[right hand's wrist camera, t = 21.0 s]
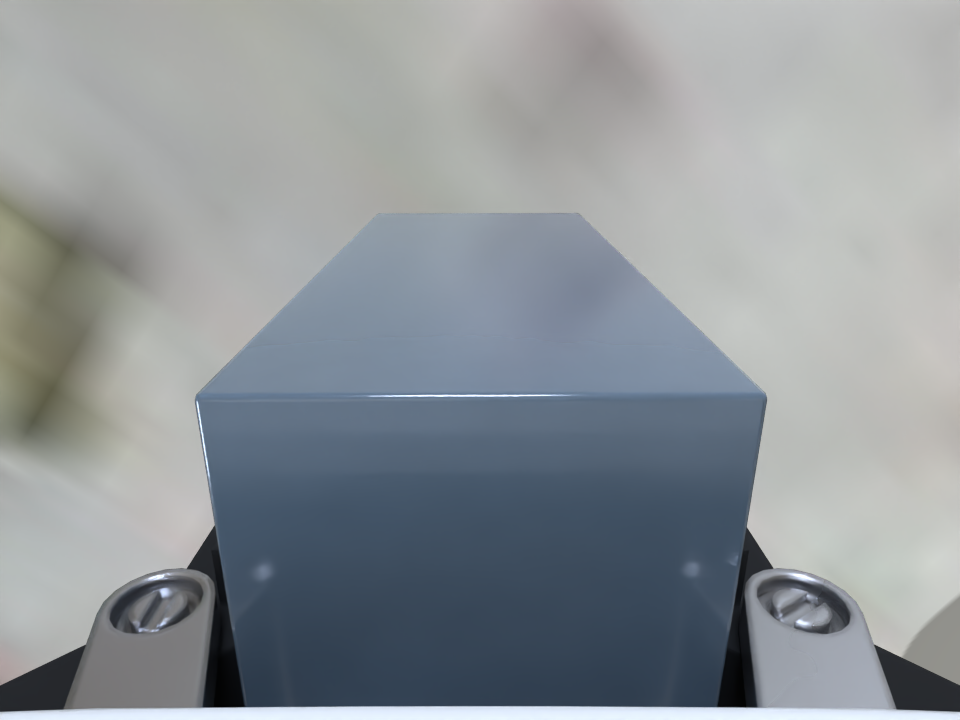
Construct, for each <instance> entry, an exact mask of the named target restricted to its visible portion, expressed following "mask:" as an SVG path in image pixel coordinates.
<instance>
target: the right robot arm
mask: <svg viewBox="0 0 960 720" xmlns="http://www.w3.org/2000/svg"><path fill="white" fill-rule="evenodd" d="M0 720H960V685H958V684H956V683H953V682H951V681H949V680H947V679H945V678H943V677H941V676H939V675H937V674H935V673H933V672H930V671H928V670H926V669H924V668H922V667H920V666H918V665H916V664H914V663H912V662H910V661H907V660H905V659H903V658H901V657H899V656H897V655H895V654H893V653H891V652H889V651H887V650H885V649H882V648H880V647H878V646H876V645H874V643H873V641H872V638H871V635H870V632H869V629H868V626H867V624H866V621H865V618H864V615H863V613H862V611H861V609H860V608H859V606H858V604H857V602H856V601H855V600H854V599H853V598H852V597H851V596H849V595H848V594H847V593H846V592H845V591H844V590H843V589H841V588H839V587H838V586H836V585H835V584H833V583H831V582H830V581H828V580H825V579H823V578H821V577H818V576H816V575H814V574H810V573H806V572H802V571H798V570H794V569H781V568H776V569H773V567H772V565H771V564H770V562H769V561H768V559H767V558H766V556H765V555H764V553H763V552H762V550H761V549H760V547H759V545H758V544H757V542H756V541H755V539H754V538H753V536H752V535H751V533H750V532H749V530H748V528H747V527H746V534H745V540H744V546H743V552H742V558H741V565H740V571H739V577H738V583H737V590H736V596H735V602H734V608H733V614H732V621H731V627H730V633H729V639H728V646H727V652H726V658H725V664H724V670H723V677H722V683H721V689H720V695H719V702H718V707H579V706H391V707H244V702H243V696H242V690H241V683H240V677H239V671H238V665H237V659H236V652H235V646H234V640H233V634H232V628H231V621H230V615H229V609H228V603H227V597H226V590H225V584H224V578H223V572H222V566H221V560H220V553H219V547H218V541H217V535H216V529H215V526H214V527H213V529H212V530H211V532H210V534H209V535H208V537H207V538H206V540H205V541H204V543H203V544H202V546H201V547H200V549H199V551H198V552H197V554H196V555H195V557H194V558H193V560H192V561H191V563H190V564H189V566H188V568H187V569H184V568H179V569H166V570H162V571H158V572H154V573H150V574H146V575H144V576H142V577H139V578H137V579H135V580H132V581H130V582H129V583H127V584H125V585H124V586H122V587H121V588H119V589H117V590H116V591H115V592H114V593H113V594H112V595H111V596H109V597H108V598H107V599H106V600H105V601H104V602H103V604H102V606H101V608H100V609H99V611H98V613H97V615H96V618H95V621H94V624H93V626H92V629H91V632H90V635H89V638H88V641H87V643H86V645H84V646H82V647H80V648H78V649H76V650H74V651H72V652H69V653H67V654H65V655H63V656H61V657H59V658H57V659H55V660H53V661H51V662H49V663H47V664H44V665H42V666H40V667H38V668H36V669H34V670H32V671H30V672H28V673H26V674H24V675H21V676H19V677H17V678H15V679H13V680H11V681H9V682H7V683H5V684H3V685H1V686H0Z"/></svg>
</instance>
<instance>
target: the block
mask: <svg viewBox="0 0 960 720" xmlns="http://www.w3.org/2000/svg"><path fill="white" fill-rule="evenodd" d="M766 403H767V397H766V393H765V392H764V391H763V390H762V389H761V388H760V387H759V386H758V385H757V384H756V383H754V382H753V381H752V380H751V379H750V378H749V377H748V376H747V375H746V374H745V373H744V372H743V371H742V370H741V369H740V368H739V367H738V366H737V365H736V364H735V363H734V362H733V361H732V360H731V359H730V358H729V357H728V356H726V355H725V354H724V353H723V352H722V351H721V350H720V349H719V348H718V347H717V346H716V345H715V344H714V343H713V342H712V341H711V340H710V339H709V338H708V337H707V336H706V335H705V334H704V333H703V332H702V331H701V330H699V329H698V328H697V327H696V326H695V325H694V324H693V323H692V322H691V321H690V320H689V319H688V318H687V317H686V316H685V315H684V314H683V313H682V312H681V311H680V310H679V309H678V308H677V307H676V306H675V305H674V304H672V303H671V302H670V301H669V300H668V299H667V298H666V297H665V296H664V295H663V294H662V293H661V292H660V291H659V290H658V289H657V288H656V287H655V286H654V285H653V284H652V283H651V282H650V281H649V280H648V279H647V278H645V277H644V276H643V275H642V274H641V273H640V272H639V271H638V270H637V269H636V268H635V267H634V266H633V265H632V264H631V263H630V262H629V261H628V260H627V259H626V258H625V257H624V256H623V255H622V254H621V253H620V252H619V251H617V250H616V249H615V248H614V247H613V246H612V245H611V244H610V243H609V242H608V241H607V240H606V239H605V238H604V237H603V236H602V235H601V234H600V233H599V232H598V231H597V230H596V229H595V228H594V227H593V226H592V225H590V224H589V223H588V222H587V221H586V220H585V219H584V218H583V217H582V216H581V215H580V214H578V213H381V214H377V215H376V216H375V217H374V218H373V219H372V220H371V221H370V222H369V223H368V224H367V225H366V226H365V227H364V228H363V229H362V230H361V231H360V232H359V233H358V234H357V235H356V236H355V237H354V238H353V239H352V240H351V241H350V242H349V243H348V244H347V245H346V246H345V247H344V248H343V249H342V250H341V251H340V252H339V253H338V254H337V255H336V256H335V257H334V258H333V259H332V260H331V261H330V262H329V263H328V264H327V265H326V266H325V267H324V268H323V269H322V270H321V271H320V272H319V273H318V274H317V275H316V276H315V277H314V278H313V279H312V280H311V281H310V282H309V283H308V284H307V285H306V286H305V287H304V288H303V289H302V290H301V291H300V292H299V293H298V294H297V295H296V296H295V297H294V298H293V299H292V300H291V301H290V302H289V303H288V304H287V305H286V306H285V307H284V308H283V309H282V310H281V311H280V312H279V313H278V314H277V315H276V316H275V317H274V318H273V319H272V320H271V321H270V322H269V323H268V324H267V325H266V326H265V327H264V328H263V329H262V330H261V331H260V332H259V333H258V334H257V335H256V336H255V337H254V338H253V339H252V340H251V341H250V342H249V343H248V344H247V345H246V346H245V347H244V348H243V349H242V350H241V351H240V352H239V353H238V354H237V355H236V356H235V357H234V358H233V359H232V360H231V361H230V362H229V363H228V364H227V365H226V366H224V367H223V368H222V369H221V370H220V371H219V372H218V373H217V374H216V375H215V376H214V377H213V378H212V379H211V380H210V381H209V382H208V383H207V384H206V385H205V386H204V387H203V388H202V389H201V390H200V391H199V392H198V393H197V394H196V398H195V405H196V411H197V417H198V423H199V430H200V436H201V442H202V448H203V454H204V460H205V467H206V473H207V479H208V485H209V491H210V498H211V504H212V510H213V516H214V522H215V529H216V535H217V541H218V547H219V553H220V560H221V566H222V572H223V578H224V584H225V590H226V597H227V603H228V609H229V615H230V621H231V628H232V634H233V640H234V646H235V652H236V659H237V665H238V671H239V677H240V683H241V690H242V696H243V702H244V707H391V706H579V707H718V702H719V695H720V689H721V683H722V677H723V670H724V664H725V658H726V652H727V646H728V639H729V633H730V627H731V621H732V614H733V608H734V602H735V596H736V590H737V583H738V577H739V571H740V565H741V558H742V552H743V546H744V540H745V534H746V527H747V521H748V515H749V509H750V503H751V496H752V490H753V484H754V478H755V471H756V465H757V459H758V453H759V447H760V440H761V434H762V428H763V422H764V415H765V409H766Z"/></svg>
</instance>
